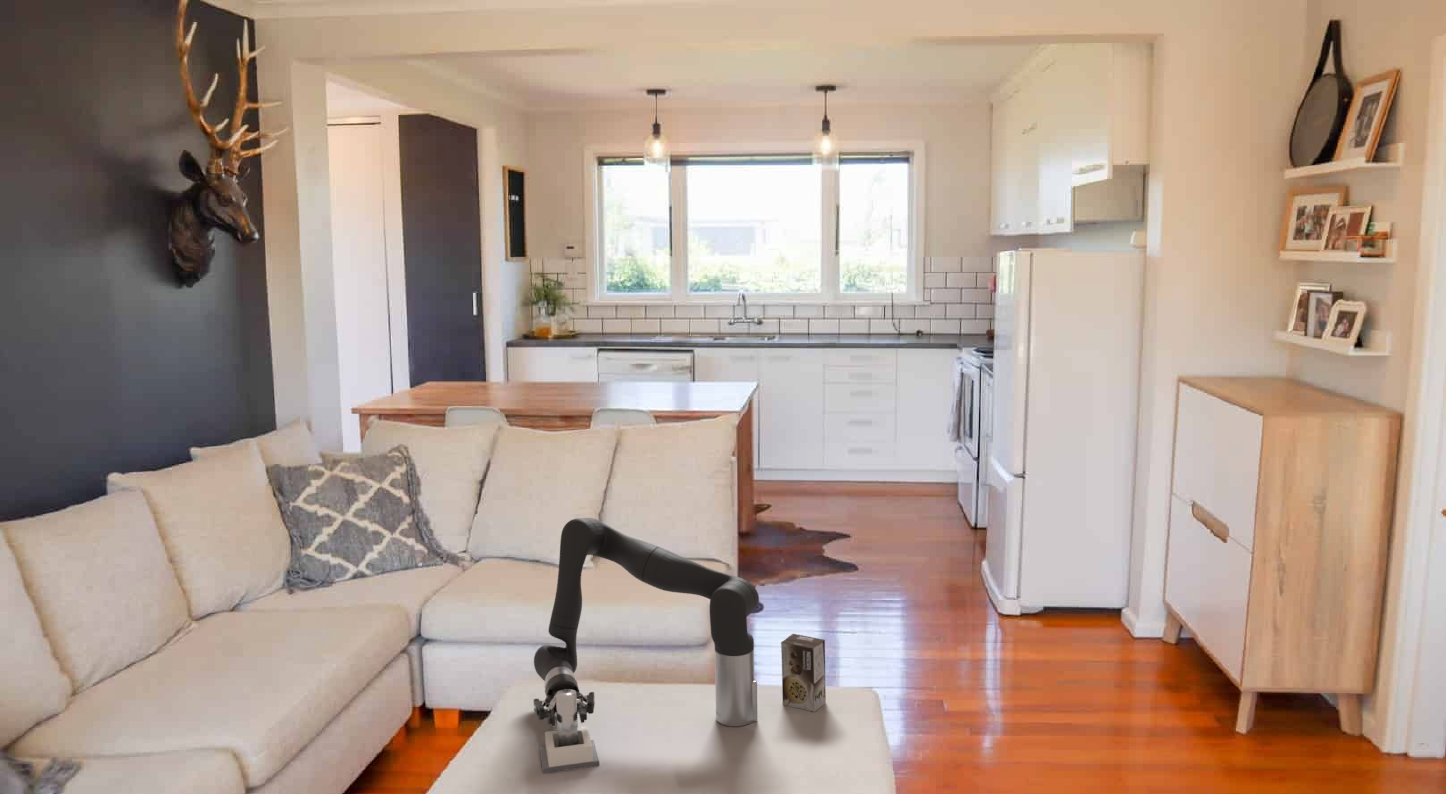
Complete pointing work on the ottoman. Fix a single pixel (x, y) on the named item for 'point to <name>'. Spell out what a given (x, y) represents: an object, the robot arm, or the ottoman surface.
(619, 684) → the ottoman surface
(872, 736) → the ottoman surface
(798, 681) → the cookie box
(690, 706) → the ottoman surface
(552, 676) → the robot arm
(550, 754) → the dock
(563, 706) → the silver metal cylinder
